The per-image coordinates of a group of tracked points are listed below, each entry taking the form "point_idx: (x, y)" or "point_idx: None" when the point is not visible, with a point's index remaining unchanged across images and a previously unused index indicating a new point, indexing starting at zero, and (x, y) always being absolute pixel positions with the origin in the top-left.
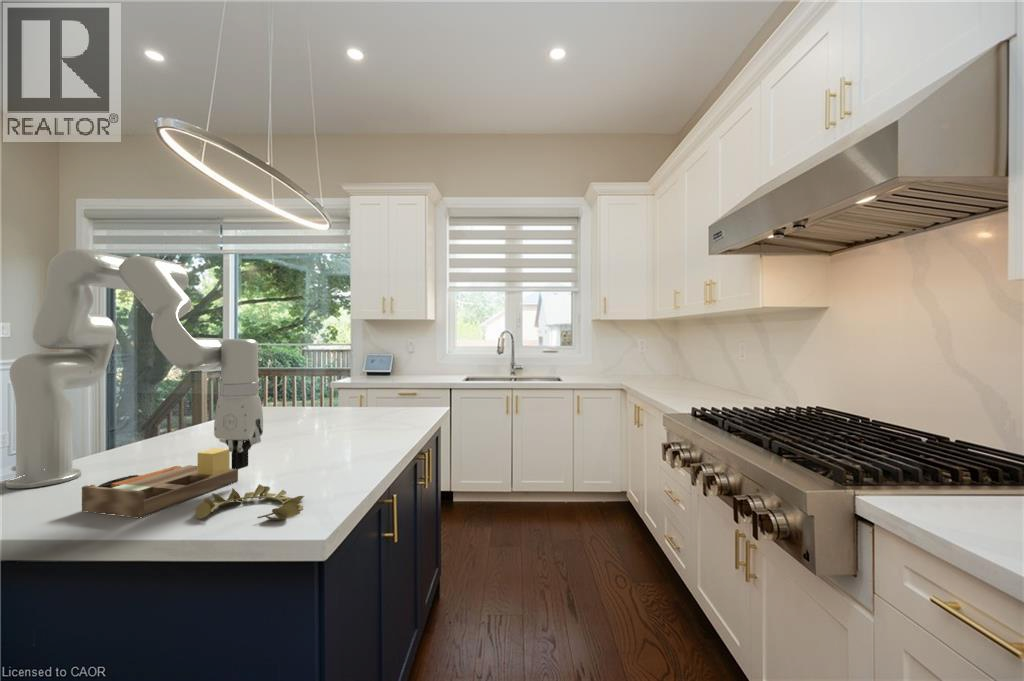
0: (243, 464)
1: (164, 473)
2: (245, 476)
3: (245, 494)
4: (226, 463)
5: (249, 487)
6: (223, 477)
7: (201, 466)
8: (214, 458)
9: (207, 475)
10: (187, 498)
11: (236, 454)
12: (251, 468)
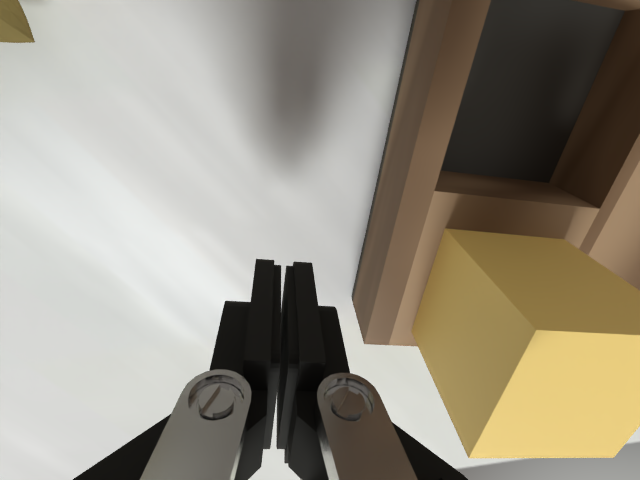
0: (226, 305)
1: None
2: (366, 357)
3: (20, 24)
4: (433, 347)
5: (215, 229)
6: (381, 243)
7: (571, 263)
8: (501, 308)
9: (478, 217)
10: None
11: (254, 344)
12: (411, 434)
